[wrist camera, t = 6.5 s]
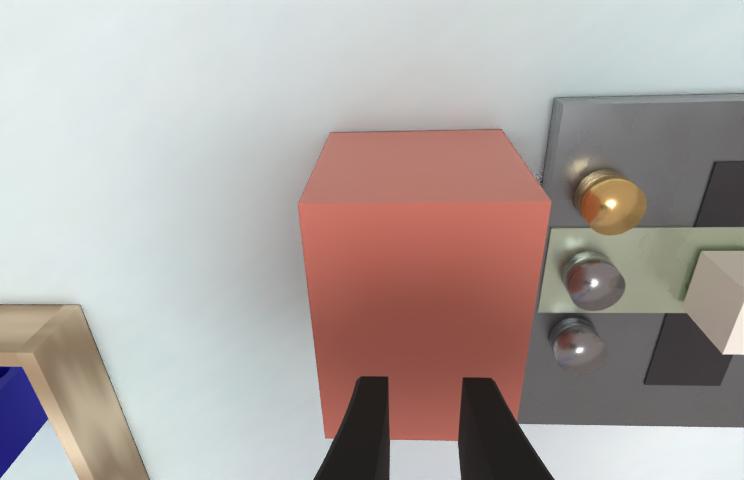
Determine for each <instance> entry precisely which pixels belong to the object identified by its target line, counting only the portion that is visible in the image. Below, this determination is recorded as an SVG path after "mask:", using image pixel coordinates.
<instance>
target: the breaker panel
mask: <svg viewBox="0 0 744 480" xmlns="http://www.w3.org/2000/svg"><path fill="white" fill-rule="evenodd" d="M542 188H543V190H544V191H545V193H546V194H547V196H548V197H549V199H550V200H551V201H552V202H551V208H550V215H549V221H548V227H547V234H546V240H545V246H544V253H543V259H542V265H541V272H540V278H539V284H538V291H537V297H536V303H535V310H534V316H533V322H532V329H531V335H530V341H529V348H528V354H527V360H526V367H525V373H524V379H523V386H522V392H521V398H520V405H519V411H518V417H517V423H518V424H564V425H624V426H685V427H744V355H741V354H722V353H721V352H720V351H719V350H718V349H717V347H716V346H715V345H714V344H713V343H712V342H711V341H710V339H709V338H708V337H707V336H706V335H705V334H704V332H703V331H702V330H701V329H700V328H699V327H698V326H697V324H696V323H695V322H694V321H693V320H692V319H691V317H690V316H689V315H688V314H687V313H686V312H685V311H684V309H683V308H682V306H683V303H684V300H685V297H686V294H687V291H688V289H689V286H690V283H691V280H692V277H693V274H694V271H695V268H696V265H697V262H698V259H699V256H700V253H701V251H744V93H743V94H699V95H656V96H613V97H570V98H554V105H553V111H552V118H551V125H550V132H549V139H548V146H547V153H546V160H545V167H544V174H543V180H542Z"/></svg>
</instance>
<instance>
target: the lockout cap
mask: <svg viewBox="0 0 744 480" xmlns="http://www.w3.org/2000/svg"><path fill="white" fill-rule="evenodd" d="M551 202H552V201H551V200H550V199H549V197H548V196H547V194H546V193H545V191H544V190H543V188H542V187H541V186H540V184H539V183H538V181H537V180H536V178H535V177H534V175H533V174H532V173H531V171H530V170H529V168H528V167H527V165H526V164H525V162H524V161H523V160H522V158H521V157H520V155H519V154H518V152H517V151H516V150H515V148H514V147H513V145H512V144H511V142H510V141H509V139H508V138H507V137H506V135H505V134H504V132H503V131H502V129H491V130H440V131H388V132H337V133H330V134H329V137H328V139H327V141H326V143H325V145H324V148H323V150H322V152H321V154H320V156H319V159H318V161H317V163H316V165H315V168H314V170H313V172H312V174H311V176H310V179H309V181H308V183H307V185H306V187H305V190H304V192H303V194H302V196H301V198H300V201H299V203H298V209H299V218H300V227H301V235H302V244H303V252H304V261H305V269H306V278H307V286H308V295H309V303H310V312H311V320H312V329H313V338H314V346H315V355H316V363H317V372H318V380H319V389H320V397H321V406H322V414H323V423H324V431H325V438H335V436H336V434H337V432H338V430H339V427H340V425H341V422H342V420H343V418H344V415H345V413H346V410H347V408H348V405H349V402H350V400H351V397H352V394H353V391H354V387H355V383H356V380H357V379H358V378H360V377H361V376H388V383H389V426H390V439H392V440H445V441H458V433H459V420H460V406H461V393H462V380H463V377H481V378H492V379H493V380H494V381H495V382H496V384H497V386H498V388H499V390H500V392H501V394H502V396H503V398H504V400H505V402H506V403H507V405H508V407H509V409H510V411H511V412H512V414H513V416H514V418H515V419H516V421H517V417H518V411H519V405H520V398H521V392H522V386H523V379H524V373H525V367H526V360H527V354H528V348H529V341H530V335H531V329H532V322H533V316H534V310H535V303H536V297H537V291H538V284H539V278H540V272H541V265H542V259H543V253H544V246H545V240H546V234H547V227H548V221H549V215H550V208H551Z"/></svg>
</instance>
